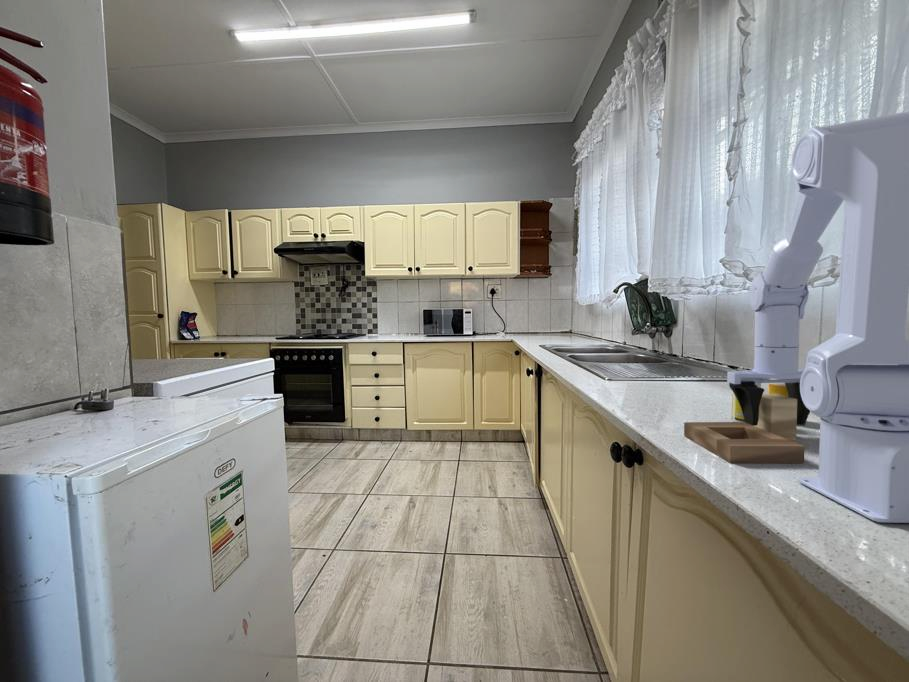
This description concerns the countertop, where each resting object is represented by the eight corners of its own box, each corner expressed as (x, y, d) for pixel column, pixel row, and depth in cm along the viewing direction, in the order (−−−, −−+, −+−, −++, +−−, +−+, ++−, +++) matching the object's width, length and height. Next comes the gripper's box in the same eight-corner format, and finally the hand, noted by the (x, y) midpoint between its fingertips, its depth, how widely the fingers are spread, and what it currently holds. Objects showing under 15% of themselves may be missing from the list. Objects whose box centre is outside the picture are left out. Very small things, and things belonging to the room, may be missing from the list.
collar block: (804, 463, 51) (804, 446, 51) (729, 462, 52) (730, 446, 52) (743, 435, 63) (743, 421, 63) (684, 436, 64) (684, 422, 64)
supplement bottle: (768, 426, 68) (769, 382, 67) (740, 426, 68) (740, 382, 68) (753, 419, 72) (753, 378, 72) (726, 419, 73) (727, 378, 73)
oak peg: (796, 439, 60) (797, 399, 60) (770, 440, 61) (771, 399, 60) (777, 432, 64) (777, 394, 64) (753, 432, 65) (754, 394, 64)
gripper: (800, 343, 65) (798, 417, 66) (716, 345, 66) (715, 417, 67) (839, 346, 58) (836, 428, 59) (744, 348, 59) (742, 429, 60)
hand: (774, 423), depth 62 cm, fingers open, 7 cm apart
